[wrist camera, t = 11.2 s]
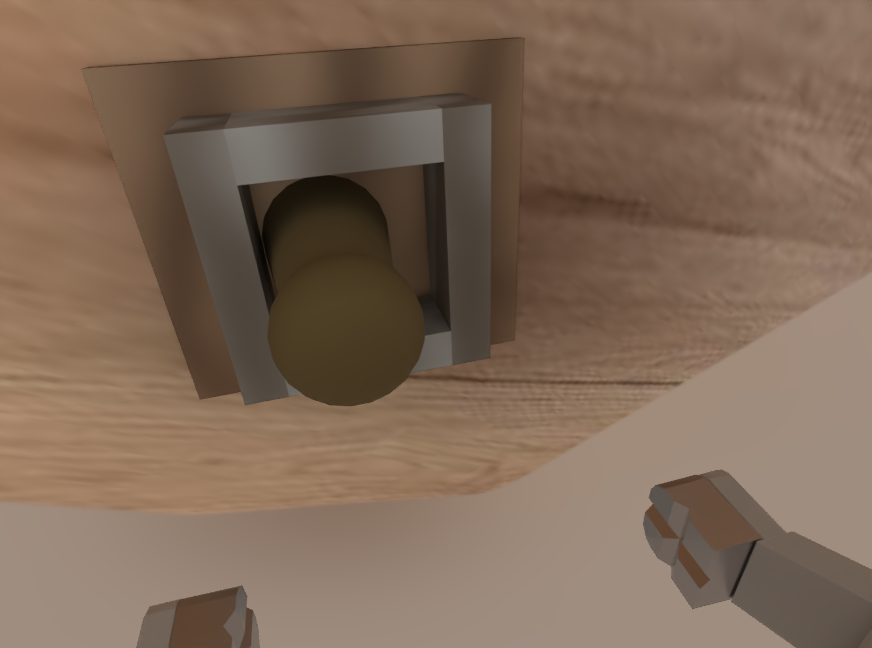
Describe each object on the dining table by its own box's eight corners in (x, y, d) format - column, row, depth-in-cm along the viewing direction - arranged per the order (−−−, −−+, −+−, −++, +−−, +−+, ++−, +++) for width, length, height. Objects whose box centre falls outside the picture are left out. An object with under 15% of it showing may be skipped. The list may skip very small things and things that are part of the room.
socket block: (517, 37, 24) (566, 40, 20) (509, 333, 32) (542, 378, 28) (87, 67, 20) (41, 78, 16) (201, 390, 29) (189, 450, 25)
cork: (400, 273, 27) (462, 400, 18) (287, 307, 27) (292, 457, 17) (370, 159, 24) (427, 243, 15) (241, 194, 23) (216, 305, 14)
